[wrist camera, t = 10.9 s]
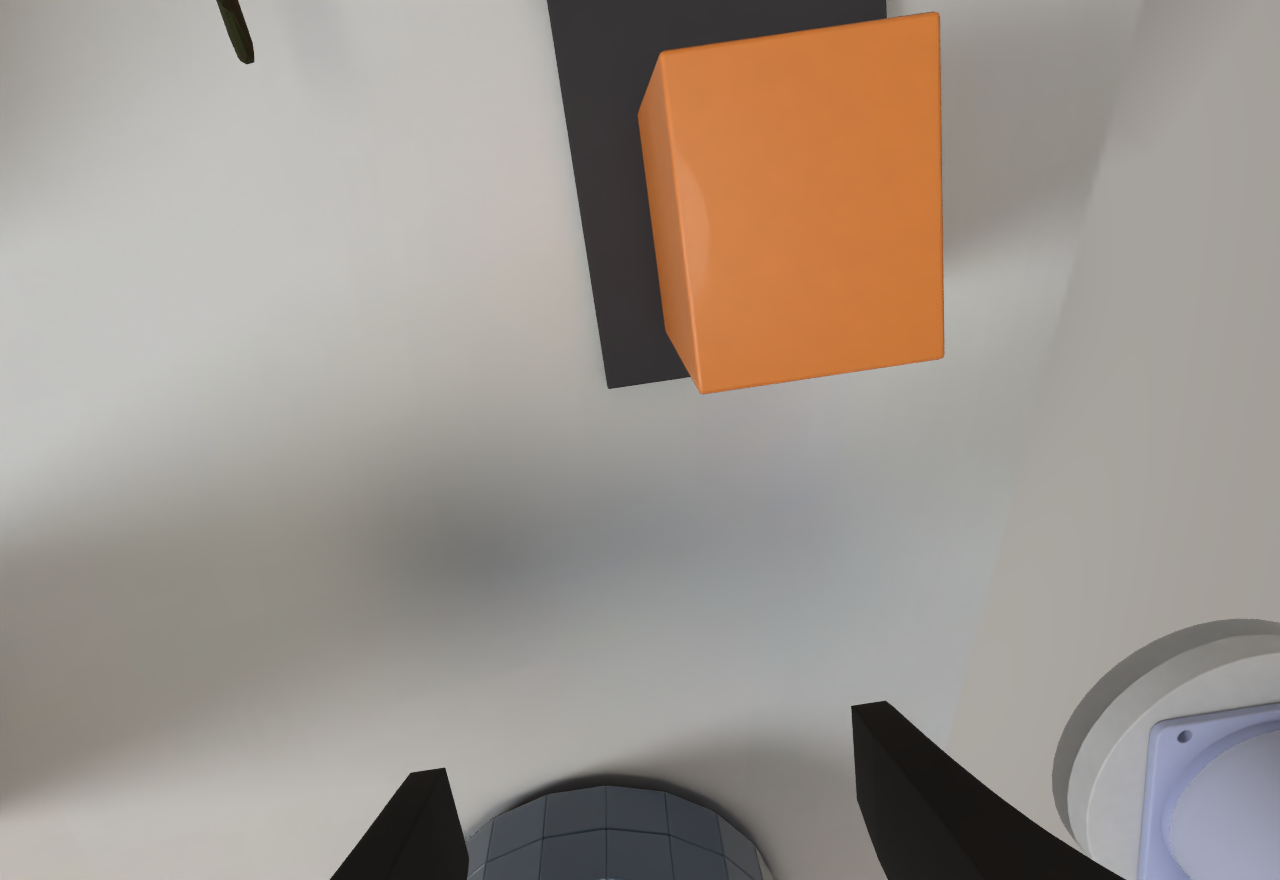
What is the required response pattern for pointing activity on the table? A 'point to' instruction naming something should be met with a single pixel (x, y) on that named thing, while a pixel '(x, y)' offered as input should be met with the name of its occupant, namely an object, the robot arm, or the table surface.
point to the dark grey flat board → (612, 152)
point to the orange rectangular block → (799, 201)
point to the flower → (237, 29)
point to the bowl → (612, 840)
